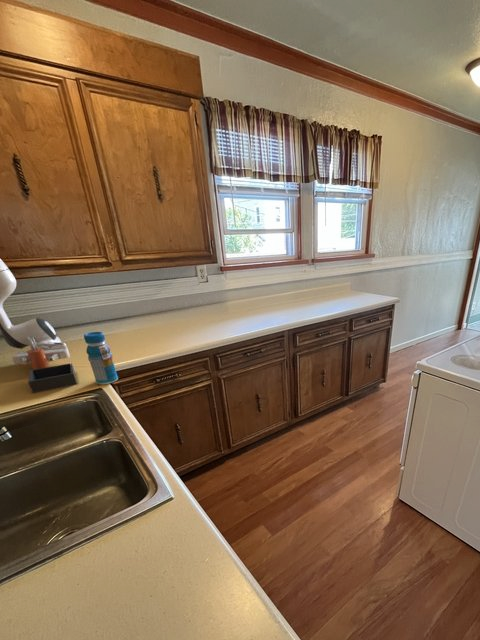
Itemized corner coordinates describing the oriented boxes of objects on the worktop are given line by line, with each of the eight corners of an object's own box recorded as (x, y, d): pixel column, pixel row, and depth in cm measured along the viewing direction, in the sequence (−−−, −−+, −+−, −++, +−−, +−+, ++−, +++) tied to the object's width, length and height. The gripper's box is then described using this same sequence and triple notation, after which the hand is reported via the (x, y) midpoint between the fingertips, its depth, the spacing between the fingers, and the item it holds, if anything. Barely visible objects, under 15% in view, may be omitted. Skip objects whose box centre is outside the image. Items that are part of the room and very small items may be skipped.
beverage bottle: (94, 386, 130) (79, 337, 121) (97, 378, 137) (82, 332, 128) (118, 383, 133) (104, 335, 124) (119, 375, 140) (106, 330, 131)
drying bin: (32, 392, 125) (28, 381, 123) (34, 380, 136) (30, 370, 134) (77, 383, 133) (73, 373, 131) (75, 372, 143) (71, 363, 141)
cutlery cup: (36, 377, 139) (20, 339, 131) (36, 373, 143) (21, 336, 135) (52, 375, 141) (37, 337, 134) (52, 371, 145) (38, 334, 138)
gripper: (15, 347, 144) (4, 357, 133) (69, 342, 152) (63, 350, 141) (20, 361, 147) (11, 371, 136) (73, 355, 155) (68, 364, 143)
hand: (38, 360), depth 138 cm, fingers open, 8 cm apart
